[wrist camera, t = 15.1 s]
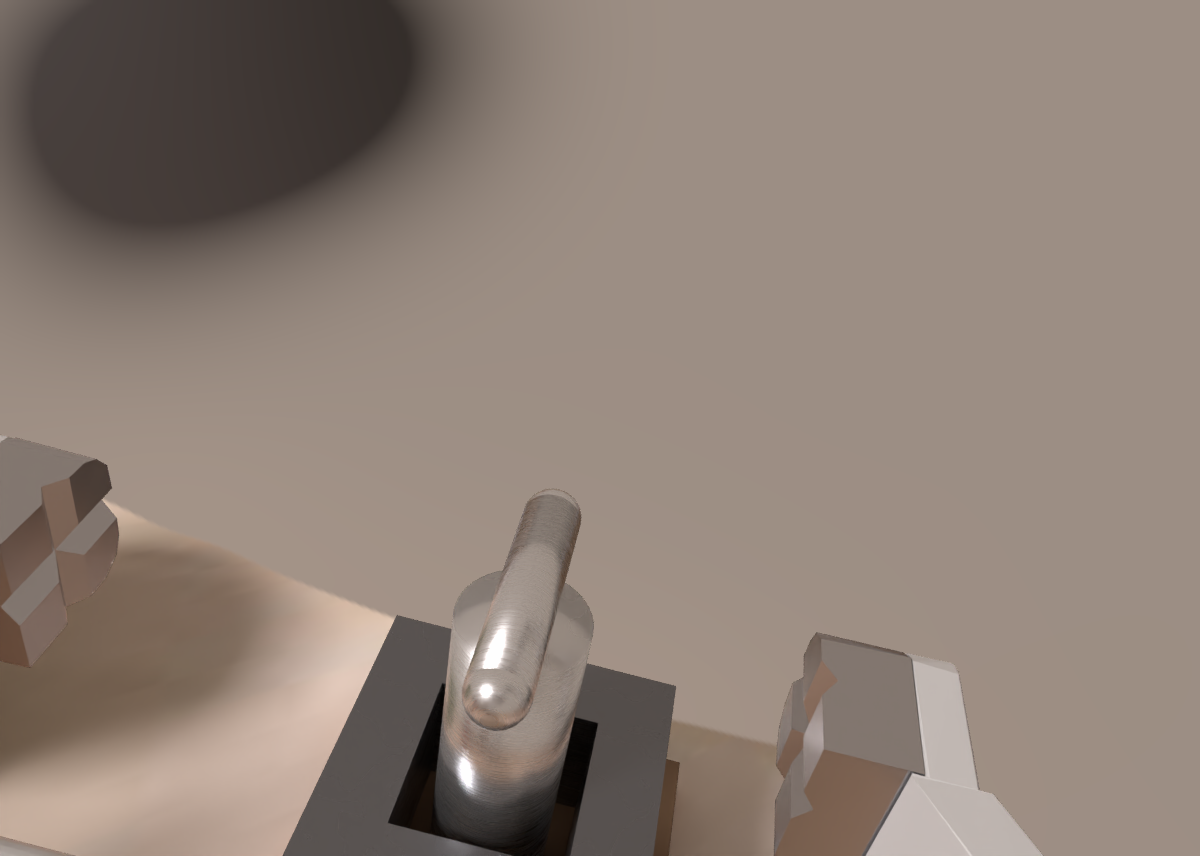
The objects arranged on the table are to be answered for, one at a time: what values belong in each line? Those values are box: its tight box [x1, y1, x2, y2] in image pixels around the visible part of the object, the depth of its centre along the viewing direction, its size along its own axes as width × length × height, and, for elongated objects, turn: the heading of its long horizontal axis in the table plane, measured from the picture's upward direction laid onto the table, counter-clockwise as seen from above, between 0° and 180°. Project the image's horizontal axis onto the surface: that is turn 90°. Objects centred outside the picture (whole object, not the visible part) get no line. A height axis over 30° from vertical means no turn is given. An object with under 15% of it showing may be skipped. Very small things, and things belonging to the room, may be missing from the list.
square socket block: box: [283, 615, 676, 856], centre depth 34 cm, size 11×11×5 cm
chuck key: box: [430, 489, 594, 856], centre depth 31 cm, size 9×4×14 cm, turn 171°
